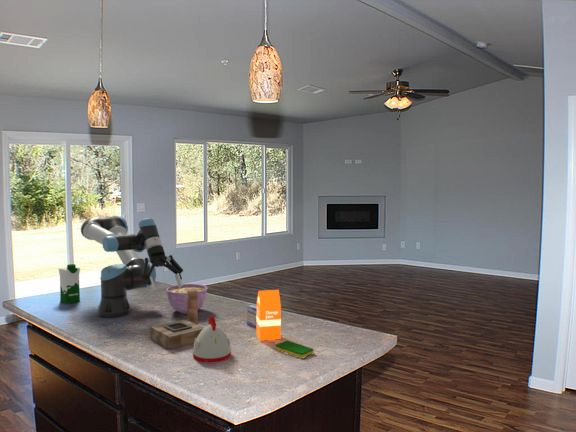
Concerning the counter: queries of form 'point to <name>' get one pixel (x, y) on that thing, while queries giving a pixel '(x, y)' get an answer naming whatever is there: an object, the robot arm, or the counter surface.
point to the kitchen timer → (211, 344)
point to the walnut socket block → (175, 333)
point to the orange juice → (268, 315)
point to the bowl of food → (185, 296)
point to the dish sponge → (294, 349)
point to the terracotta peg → (192, 306)
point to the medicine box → (252, 315)
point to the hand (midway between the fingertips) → (167, 289)
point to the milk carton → (69, 284)
